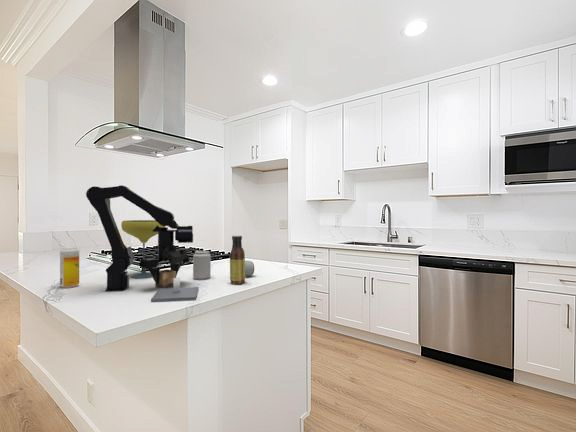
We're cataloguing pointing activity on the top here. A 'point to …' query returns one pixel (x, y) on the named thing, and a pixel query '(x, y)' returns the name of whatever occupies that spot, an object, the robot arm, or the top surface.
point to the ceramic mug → (249, 268)
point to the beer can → (69, 267)
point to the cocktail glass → (141, 236)
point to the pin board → (175, 293)
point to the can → (201, 265)
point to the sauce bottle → (237, 261)
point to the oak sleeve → (166, 278)
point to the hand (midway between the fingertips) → (165, 282)
